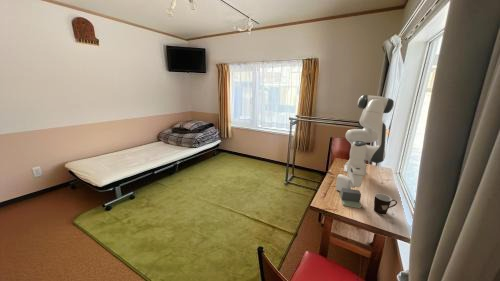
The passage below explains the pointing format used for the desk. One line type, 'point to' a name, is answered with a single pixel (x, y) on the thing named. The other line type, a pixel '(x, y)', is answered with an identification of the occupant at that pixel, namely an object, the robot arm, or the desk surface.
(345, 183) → the photo printer
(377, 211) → the coffee mug
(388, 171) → the desk surface
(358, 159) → the robot arm
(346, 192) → the block
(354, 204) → the board
